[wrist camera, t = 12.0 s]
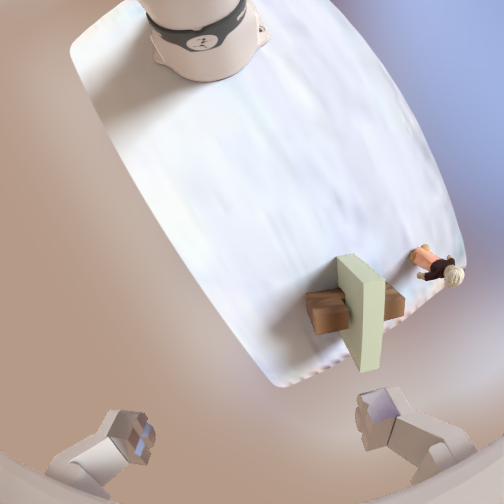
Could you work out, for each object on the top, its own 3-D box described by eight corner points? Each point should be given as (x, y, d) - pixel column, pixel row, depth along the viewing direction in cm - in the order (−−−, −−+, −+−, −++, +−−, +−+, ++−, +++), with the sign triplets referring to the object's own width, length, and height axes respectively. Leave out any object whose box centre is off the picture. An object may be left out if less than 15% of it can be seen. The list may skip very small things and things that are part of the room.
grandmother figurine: (428, 234, 41) (473, 253, 29) (435, 252, 42) (478, 274, 30) (397, 259, 42) (438, 285, 30) (405, 276, 43) (444, 305, 31)
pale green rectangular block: (336, 256, 42) (363, 283, 31) (353, 253, 42) (385, 279, 31) (339, 332, 46) (359, 373, 34) (354, 328, 46) (378, 368, 34)
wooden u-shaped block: (307, 310, 45) (316, 334, 37) (305, 293, 44) (315, 316, 36) (383, 295, 44) (403, 315, 36) (383, 279, 43) (405, 298, 36)
